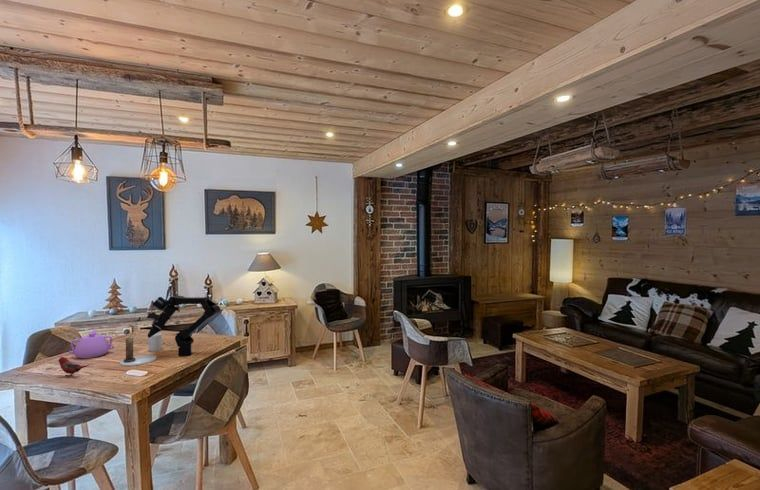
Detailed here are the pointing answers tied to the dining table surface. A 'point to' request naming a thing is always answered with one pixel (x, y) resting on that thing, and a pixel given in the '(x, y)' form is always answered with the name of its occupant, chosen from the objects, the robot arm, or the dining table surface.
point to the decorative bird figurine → (69, 366)
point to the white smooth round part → (139, 360)
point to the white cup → (155, 342)
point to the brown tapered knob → (129, 351)
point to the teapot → (91, 346)
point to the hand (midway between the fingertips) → (148, 336)
